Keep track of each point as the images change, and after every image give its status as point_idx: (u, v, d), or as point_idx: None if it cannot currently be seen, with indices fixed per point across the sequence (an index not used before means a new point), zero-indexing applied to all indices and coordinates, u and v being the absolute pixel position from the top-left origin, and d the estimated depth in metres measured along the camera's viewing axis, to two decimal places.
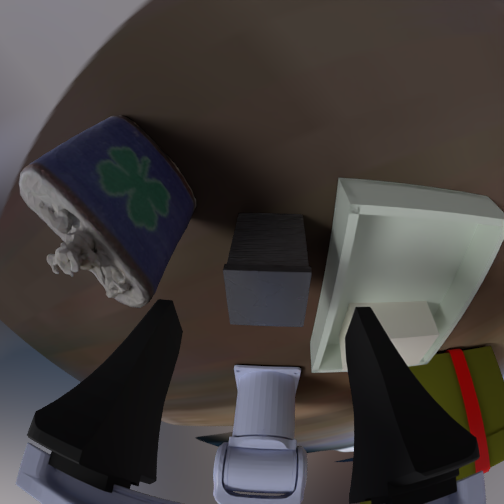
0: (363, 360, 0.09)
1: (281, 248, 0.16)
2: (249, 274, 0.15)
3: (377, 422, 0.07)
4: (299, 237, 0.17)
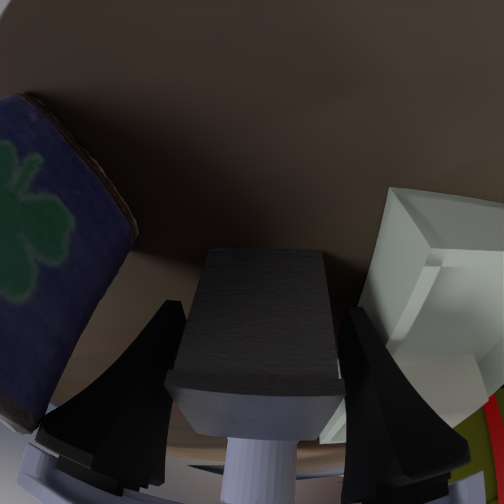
0: (354, 360, 0.09)
1: (284, 331, 0.08)
2: (217, 396, 0.07)
3: (367, 423, 0.07)
4: (318, 302, 0.09)
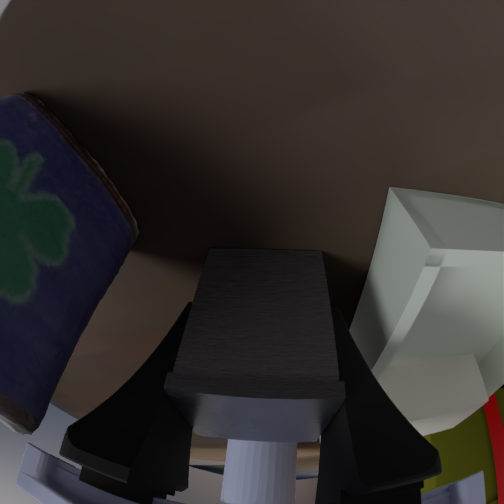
0: None
1: (284, 333, 0.08)
2: (217, 399, 0.07)
3: (335, 426, 0.07)
4: (319, 304, 0.09)
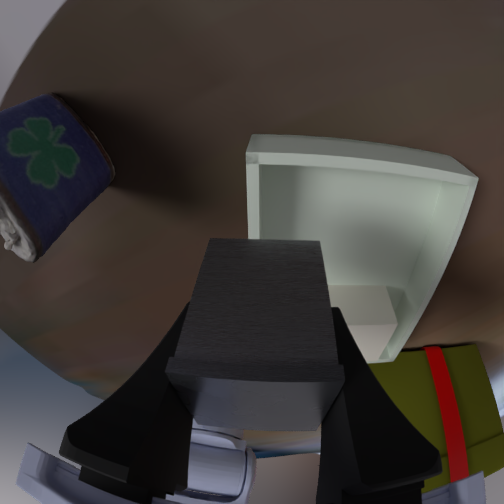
0: None
1: (284, 319, 0.08)
2: (218, 383, 0.07)
3: (336, 426, 0.07)
4: (317, 291, 0.09)
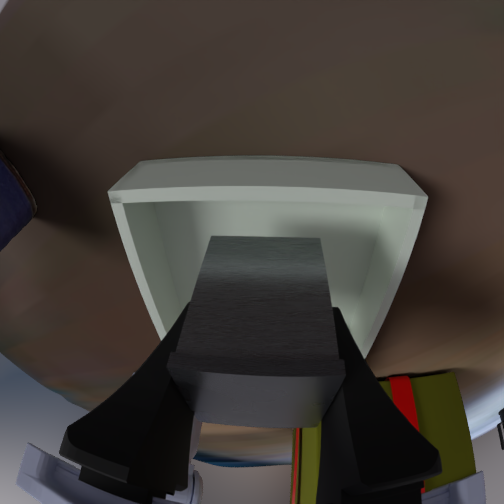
0: None
1: (285, 314, 0.08)
2: (219, 377, 0.07)
3: (336, 426, 0.07)
4: (318, 287, 0.09)
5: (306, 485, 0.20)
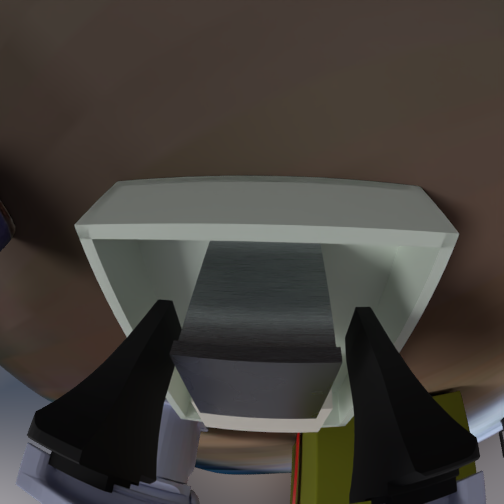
0: (363, 360, 0.09)
1: (284, 304, 0.09)
2: (220, 364, 0.07)
3: (377, 422, 0.07)
4: (316, 279, 0.09)
5: None
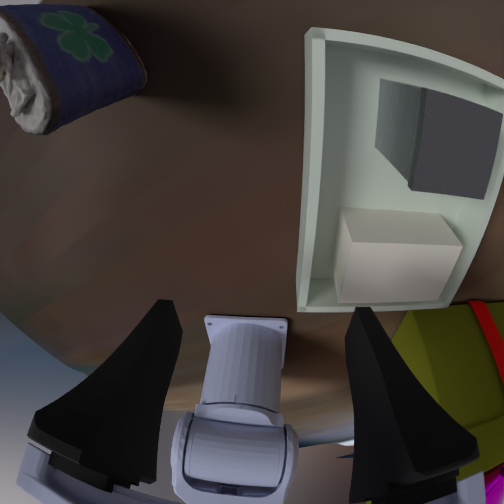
0: (363, 360, 0.09)
1: None
2: (453, 101, 0.08)
3: (377, 422, 0.07)
4: None
5: None
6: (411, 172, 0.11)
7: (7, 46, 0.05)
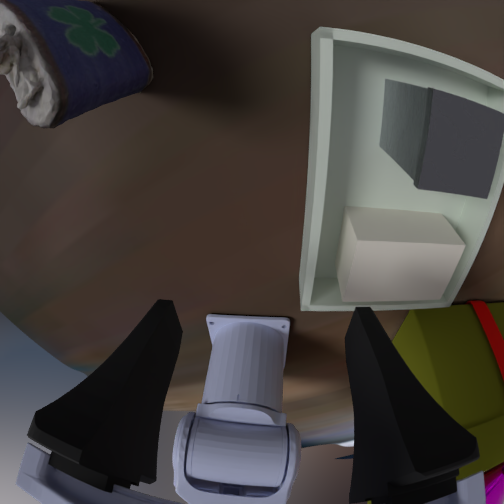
0: (363, 360, 0.09)
1: None
2: (458, 102, 0.08)
3: (377, 422, 0.07)
4: None
5: None
6: (417, 171, 0.11)
7: (15, 38, 0.05)
